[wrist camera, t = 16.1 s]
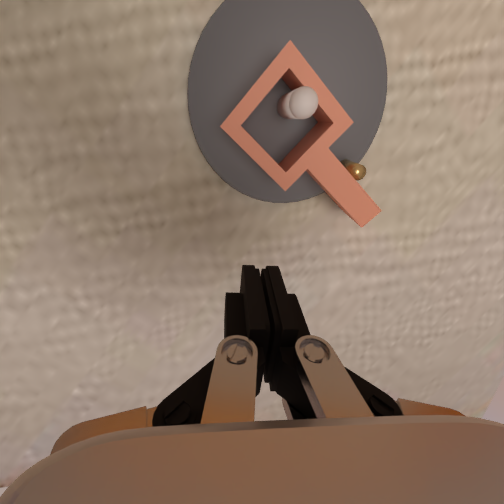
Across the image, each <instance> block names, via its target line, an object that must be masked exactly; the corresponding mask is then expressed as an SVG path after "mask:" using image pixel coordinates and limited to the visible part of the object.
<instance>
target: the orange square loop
mask: <svg viewBox="0 0 504 504" xmlns="http://www.w3.org/2000/svg"><path fill="white" fill-rule="evenodd" d="M280 78H282V79H283V80H284V82H285V83H286V84H287V85H288V87H289V88H290V89H291V90H292V91H293V90H295V89H297V88H299V87H302V86H308V87H311V88H312V89H314V90H315V92H316V93H317V96H318V107H317V109H316V111H315V113H314V114H313V117H314V118H315V119H316V120H317V121H318V123H317V124H316V125H315V126H314V127H313V128H312V129H311V130H310V131H309V132H308V133H307V134H306V135H305V137H304V138H303V139H302V140H301V141H300V142H299V143H298V144H297V145H296V146H295V147H294V148H293V149H292V150H291V151H290V152H289V153H288V155H287V156H286V157H285V158H284V159H283V160H282V161H281V162H280V163H279V164H278V163H277V162H276V161H275V160H274V159H273V158H272V157H271V156H270V155H269V154H268V153H267V152H266V151H265V150H264V149H263V148H262V147H261V146H260V145H259V144H258V143H257V142H256V140H255V139H254V138H253V137H252V136H251V135H250V134H249V133H248V132H247V131H246V130H245V129H244V128H243V127H242V126H241V125H242V123H243V122H244V121H245V120H246V119H247V118H248V116H249V115H250V114H251V113H252V112H253V110H254V109H255V108H256V107H257V106H258V104H259V103H260V102H261V101H262V100H263V98H264V97H265V96H266V95H267V94H268V92H269V91H270V90H271V89H272V88H273V87H274V85H275V84H276V83H277V82H278V81H279V79H280ZM353 123H354V122H353V121H352V119H351V118H350V117H349V116H348V114H347V113H346V112H345V110H344V109H343V108H342V106H341V105H340V104H339V103H338V101H337V100H336V99H335V97H334V96H333V95H332V93H331V92H330V91H329V90H328V88H327V87H326V86H325V84H324V83H323V82H322V80H321V79H320V78H319V77H318V75H317V74H316V73H315V71H314V70H313V69H312V67H311V66H310V65H309V64H308V62H307V61H306V60H305V58H304V57H303V56H302V54H301V53H300V52H299V51H298V49H297V48H296V47H295V45H294V44H293V43H292V41H291V40H290V41H289V42H288V43H287V44H286V46H285V47H284V48H283V49H282V50H281V52H280V53H279V54H278V55H277V57H276V58H275V59H274V60H273V62H272V63H271V64H270V65H269V67H268V68H267V69H266V70H265V71H264V73H263V74H262V75H261V76H260V78H259V79H258V80H257V81H256V83H255V84H254V85H253V86H252V88H251V89H250V90H249V91H248V92H247V94H246V95H245V96H244V97H243V99H242V100H241V101H240V102H239V104H238V105H237V106H236V107H235V109H234V110H233V111H232V112H231V113H230V115H229V116H228V117H227V118H226V120H225V121H224V122H223V123H222V125H221V126H220V127H221V128H222V129H223V130H224V131H225V132H226V133H227V134H228V135H229V136H230V137H231V138H232V139H233V140H234V141H235V142H236V143H237V144H238V145H239V146H240V147H241V148H242V149H243V150H244V151H245V152H246V153H247V154H248V155H249V156H250V157H251V158H252V159H253V160H254V161H255V162H256V163H257V164H258V165H259V166H260V167H261V168H262V169H263V170H264V171H265V172H266V173H267V174H268V175H269V176H270V177H271V178H272V179H273V180H274V181H275V182H276V183H277V184H278V185H279V186H280V187H281V188H282V189H283V190H284V191H286V190H287V189H288V188H289V187H290V186H291V185H292V184H293V183H294V182H295V181H296V180H297V179H298V178H299V177H300V176H301V175H302V174H303V173H304V172H305V171H306V172H307V173H308V174H309V175H310V176H311V177H312V178H313V179H314V180H315V181H316V182H317V183H318V184H319V186H320V187H321V188H322V189H323V190H324V191H325V192H326V193H327V194H328V195H329V196H330V197H331V198H332V200H333V201H334V202H335V203H336V204H337V205H338V206H339V207H340V208H341V209H342V210H343V211H344V212H345V213H346V214H347V215H348V216H349V217H350V218H351V219H353V220H354V221H355V222H356V223H357V224H358V225H359V226H360V227H363V226H364V225H365V224H367V223H368V222H369V221H370V220H371V219H373V218H374V217H375V216H376V215H377V214H378V213H380V212H381V209H380V208H379V207H378V206H377V205H376V204H375V202H374V201H373V200H372V199H371V198H370V197H369V195H368V194H367V193H366V192H365V191H364V189H363V188H362V187H361V186H360V185H359V184H358V182H357V181H356V180H355V179H354V178H353V177H352V175H351V174H350V173H349V172H348V171H347V169H346V168H345V167H344V166H343V165H342V164H341V162H340V161H339V160H338V159H337V158H336V157H335V155H334V154H333V153H332V152H331V151H330V149H329V147H330V146H331V145H332V144H333V143H334V142H335V141H336V140H337V139H338V138H339V137H340V136H341V135H342V134H343V133H344V132H345V131H346V130H347V129H348V128H349V127H350V126H351V125H352V124H353Z"/></svg>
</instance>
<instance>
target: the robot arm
mask: <svg viewBox="0 0 504 504" xmlns="http://www.w3.org/2000/svg"><path fill="white" fill-rule="evenodd" d="M263 374H264V381H265V383H269V385H270V391H276V393H277V394H279V395H280V396H281V397H282V403H283V407H284V410H285V413H286V416H287V419H288V420H275V421H254V414H255V397H256V396H257V395H258V394H259V393H260V387H261V382H262V377H263ZM0 504H504V424H501V423H498V422H494V421H490V420H485V419H481V418H475V417H467V416H465V415H463V414H462V413H460V412H458V411H456V410H453V409H450V408H445V407H440V406H435V405H430V404H425V403H420V402H415V401H410V400H405V399H400V398H398V399H397V401H395V400H393V398H391V397H390V396H389V395H387V394H386V393H385V392H383V391H381V390H380V389H378V388H377V387H375V386H374V385H372V384H371V383H369V382H367V381H366V380H364V379H363V378H361V377H360V376H358V375H357V374H355V373H353V372H352V371H350V370H349V369H347V368H346V367H344V366H343V364H342V363H341V361H340V359H339V358H338V356H337V354H336V353H335V351H334V350H333V348H332V347H331V345H330V344H329V343H328V342H327V341H325V340H324V339H322V338H320V337H317V336H313V335H310V332H309V330H308V327H307V324H306V321H305V319H304V316H303V313H302V310H301V308H300V305H299V302H298V299H297V297H296V295H295V294H287V291H286V288H285V285H284V282H283V279H282V276H281V272H280V269H279V267H278V266H266V269H262V271H261V277H260V272H259V269H255V266H254V265H243V266H242V275H241V286H240V293H226V297H225V319H224V339H223V340H222V341H221V342H220V343H219V345H218V347H217V351H216V356H215V358H214V359H213V360H212V361H210V362H209V363H208V364H207V365H206V366H204V367H203V368H202V369H201V370H199V371H198V372H197V373H196V374H195V375H193V376H192V377H191V378H190V379H188V380H187V381H186V382H185V383H184V384H182V385H181V386H180V387H179V388H177V389H176V390H175V391H174V392H172V393H171V394H170V395H169V396H168V397H166V398H165V399H164V400H163V401H162V402H161V403H160V404H159V405H158V406H157V407H153V408H149V409H147V408H146V406H144V407H140V408H136V409H132V410H128V411H125V412H121V413H117V414H113V415H109V416H105V417H101V418H97V419H93V420H89V421H85V422H81V423H79V424H77V425H74V426H72V427H71V428H69V429H68V430H67V431H65V432H64V433H63V434H62V435H61V436H60V437H59V439H58V440H57V441H56V442H55V445H54V447H53V449H52V451H51V454H50V456H48V457H46V458H44V459H42V460H41V461H39V462H37V463H36V464H35V465H33V466H32V467H30V468H29V469H27V470H26V471H25V472H24V473H22V474H21V475H20V476H19V477H18V478H17V479H16V480H15V481H14V482H13V483H12V484H11V485H10V486H9V487H8V488H7V489H6V490H5V492H4V493H3V494H2V495H1V497H0Z"/></svg>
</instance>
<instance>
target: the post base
mask: <svg viewBox="0 0 504 504" xmlns="http://www.w3.org/2000/svg"><path fill="white" fill-rule="evenodd" d="M290 40H291V41H292V43H293V44H294V45H295V47H296V48H297V49H298V51H299V52H300V53H301V54H302V56H303V57H304V58H305V60H306V61H307V62H308V64H309V65H310V66H311V67H312V69H313V70H314V71H315V73H316V74H317V75H318V77H319V78H320V79H321V80H322V82H323V83H324V84H325V86H326V87H327V88H328V90H329V91H330V92H331V93H332V95H333V96H334V97H335V99H336V100H337V101H338V103H339V104H340V105H341V106H342V108H343V109H344V110H345V112H346V113H347V114H348V116H349V117H350V118H351V119H352V121H353V122H354V123H353V124H352V125H351V126H350V127H349V128H348V129H347V130H346V131H345V132H344V133H343V134H342V135H341V136H340V137H339V138H338V139H337V140H336V141H335V142H334V143H333V144H332V145H331V146H330V147H329V149H330V151H331V152H332V153H333V154H334V155H335V157H336V158H337V159H338V160H339V161H340V162H341V161H342V160H345V159H347V160H350V161H352V162H355V163H359V162H360V160H361V159H362V158H363V157H364V155H365V153H366V152H367V150H368V148H369V147H370V145H371V143H372V141H373V139H374V137H375V135H376V133H377V130H378V128H379V125H380V122H381V119H382V115H383V111H384V107H385V101H386V93H387V67H386V58H385V53H384V49H383V45H382V41H381V39H380V36H379V33H378V30H377V28H376V26H375V24H374V22H373V20H372V18H371V17H370V15H369V13H368V12H367V10H366V9H365V8H364V6H363V5H362V4H361V2H360V1H359V0H225V1H224V2H223V3H222V4H221V5H220V6H219V8H218V9H217V10H216V11H215V13H214V14H213V15H212V16H211V18H210V20H209V21H208V23H207V25H206V26H205V28H204V30H203V31H202V34H201V36H200V38H199V41H198V43H197V45H196V48H195V51H194V55H193V58H192V62H191V67H190V72H189V78H188V107H189V114H190V120H191V125H192V128H193V131H194V135H195V138H196V140H197V143H198V145H199V147H200V149H201V151H202V153H203V155H204V156H205V158H206V160H207V162H208V163H209V164H210V166H211V167H212V168H213V169H214V171H215V172H216V173H217V174H218V175H219V176H220V177H221V178H222V179H223V180H224V181H225V182H226V183H228V184H229V185H230V186H231V187H233V188H234V189H236V190H238V191H239V192H241V193H243V194H245V195H247V196H250V197H252V198H255V199H258V200H262V201H267V202H273V203H289V202H297V201H301V200H305V199H309V198H311V197H314V196H317V195H319V194H321V193H323V192H325V191H324V190H323V189H322V188H321V187H320V186H319V184H318V183H317V182H316V181H315V180H314V179H313V178H312V177H311V176H310V175H309V174H308V173H307V172H306V171H305V172H304V173H303V174H302V175H301V176H300V177H299V178H298V179H297V180H296V181H295V182H294V183H293V184H292V185H291V186H290V187H289V188H288V189H287V190H286V191H284V190H283V189H282V188H281V187H280V186H279V185H278V184H277V183H276V182H275V181H274V180H273V179H272V178H271V177H270V176H269V175H268V174H267V173H266V172H265V171H264V170H263V169H262V168H261V167H260V166H259V165H258V164H257V163H256V162H255V161H254V160H253V159H252V158H251V157H250V156H249V155H248V154H247V153H246V152H245V151H244V150H243V149H242V148H241V147H240V146H239V145H238V144H237V143H236V142H235V141H234V140H233V139H232V138H231V137H230V136H229V135H228V134H227V133H226V132H225V131H224V130H223V129H222V128H221V127H220V126H221V125H222V123H223V122H224V121H225V120H226V118H227V117H228V116H229V115H230V113H231V112H232V111H233V110H234V109H235V107H236V106H237V105H238V104H239V102H240V101H241V100H242V99H243V97H244V96H245V95H246V94H247V92H248V91H249V90H250V89H251V88H252V86H253V85H254V84H255V83H256V81H257V80H258V79H259V78H260V76H261V75H262V74H263V73H264V71H265V70H266V69H267V68H268V67H269V65H270V64H271V63H272V62H273V60H274V59H275V58H276V57H277V55H278V54H279V53H280V52H281V50H282V49H283V48H284V47H285V46H286V44H287V43H288V42H289V41H290ZM317 107H318V96H317V93H316V92H315V90H314V89H312V88H311V87H308V86H302V87H299V88H297V89H295V90H293V91H292V90H291V89H290V88H289V87H288V85H287V84H286V83H285V82H284V80H283V79H282V78H280V79H279V81H278V82H277V83H276V84H275V85H274V87H273V88H272V89H271V90H270V91H269V92H268V94H267V95H266V96H265V97H264V98H263V100H262V101H261V102H260V103H259V104H258V106H257V107H256V108H255V109H254V110H253V112H252V113H251V114H250V115H249V116H248V118H247V119H246V120H245V121H244V122H243V123H242V125H241V126H242V127H243V128H244V129H245V130H246V131H247V132H248V133H249V134H250V135H251V136H252V137H253V138H254V139H255V140H256V142H257V143H258V144H259V145H260V146H261V147H262V148H263V149H264V150H265V151H266V152H267V153H268V154H269V155H270V156H271V157H272V158H273V159H274V160H275V161H276V162H277V163H278V164H279V163H280V162H281V161H282V160H283V159H284V158H285V157H286V156H287V155H288V153H289V152H290V151H291V150H292V149H293V148H294V147H295V146H296V145H297V144H298V143H299V142H300V141H301V140H302V139H303V138H304V137H305V135H306V134H307V133H308V132H309V131H310V130H311V129H312V128H313V127H314V126H315V125H316V124H317V123H318V121H317V120H316V119H315V118H314V117H313V114H314V113H315V111H316V109H317Z"/></svg>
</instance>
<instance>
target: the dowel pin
mask: <svg viewBox="0 0 504 504" xmlns="http://www.w3.org/2000/svg"><path fill="white" fill-rule="evenodd" d="M341 164H342V165H343V166H344V167H345V168H346V169H347V171H348V172H349V173H350V174H351V175H352V177H353V178H354V179H355V180H360V179H362V178H363V177H364V176H365V174H366V168H365V167H364V166H363V165H360V164H358V163H355V162H352V161H350V160H347V159H345V160H342V161H341Z"/></svg>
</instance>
